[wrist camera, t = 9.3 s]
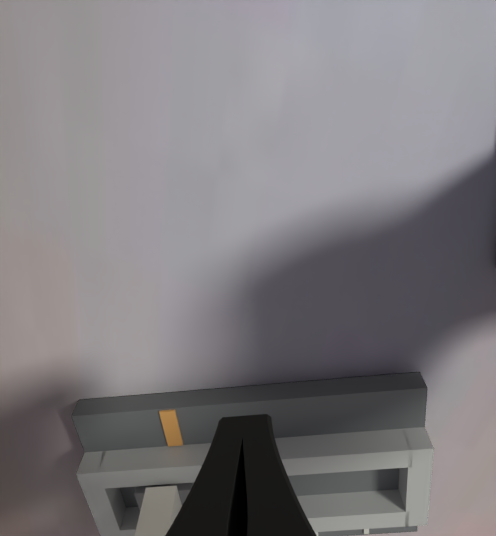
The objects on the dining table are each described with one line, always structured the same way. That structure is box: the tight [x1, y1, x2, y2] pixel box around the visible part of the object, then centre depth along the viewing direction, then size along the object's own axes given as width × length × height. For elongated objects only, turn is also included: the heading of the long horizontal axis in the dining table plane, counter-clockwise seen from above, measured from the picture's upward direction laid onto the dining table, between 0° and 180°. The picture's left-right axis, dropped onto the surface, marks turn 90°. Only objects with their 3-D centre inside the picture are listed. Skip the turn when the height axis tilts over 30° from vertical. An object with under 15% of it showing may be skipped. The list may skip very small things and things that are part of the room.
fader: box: [134, 482, 194, 536], centre depth 24 cm, size 3×4×6 cm
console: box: [71, 372, 434, 536], centre depth 26 cm, size 18×11×3 cm, turn 96°
